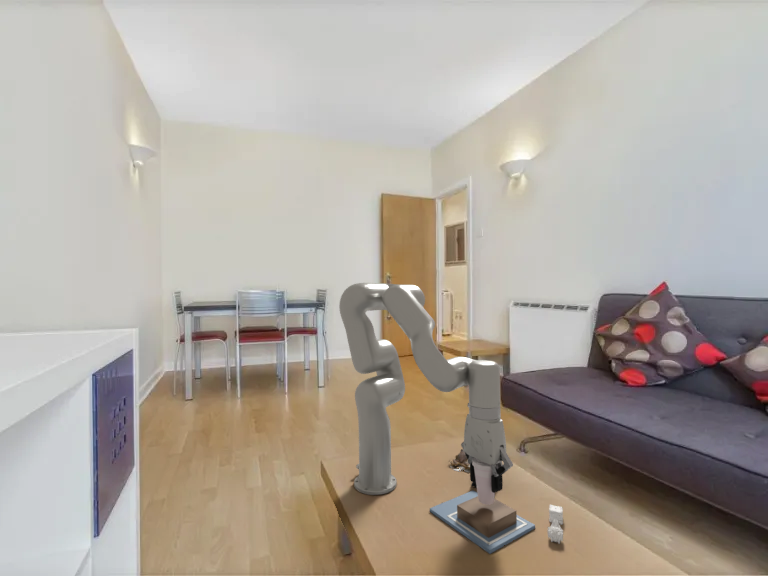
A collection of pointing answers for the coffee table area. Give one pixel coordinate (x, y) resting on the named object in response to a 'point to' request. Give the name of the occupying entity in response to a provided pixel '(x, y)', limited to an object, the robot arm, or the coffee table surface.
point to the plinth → (487, 516)
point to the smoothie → (483, 481)
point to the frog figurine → (461, 462)
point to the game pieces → (555, 523)
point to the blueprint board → (491, 544)
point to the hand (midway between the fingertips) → (485, 484)
